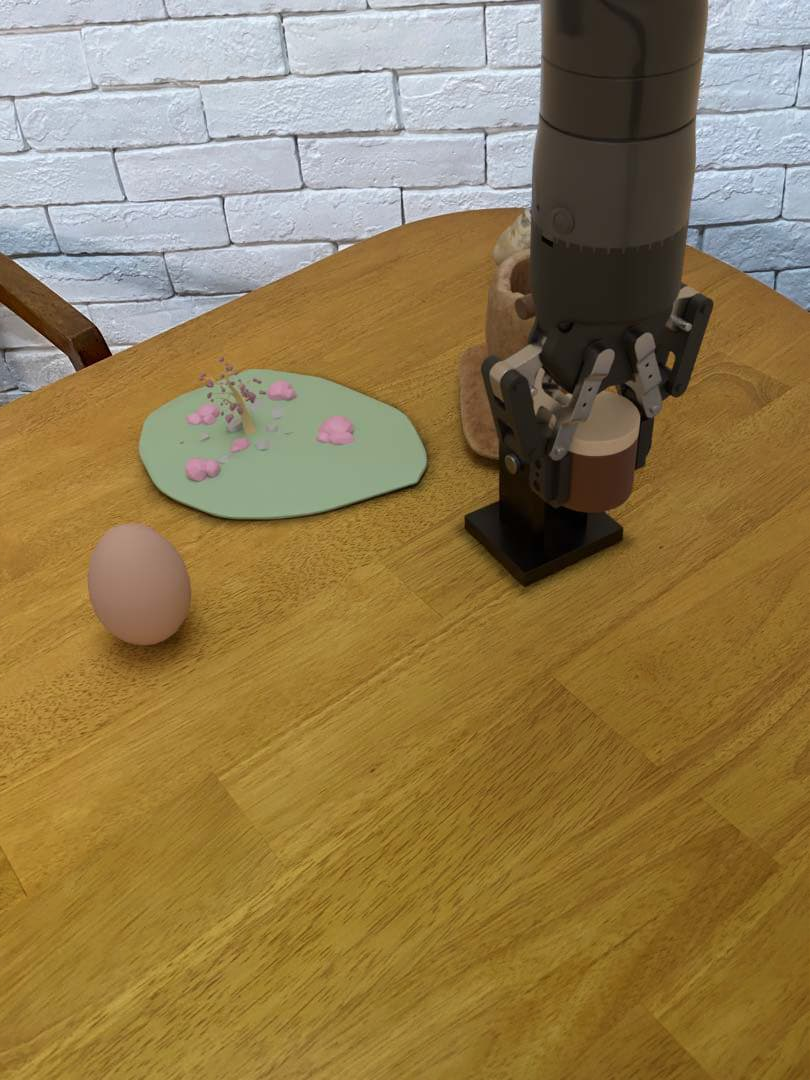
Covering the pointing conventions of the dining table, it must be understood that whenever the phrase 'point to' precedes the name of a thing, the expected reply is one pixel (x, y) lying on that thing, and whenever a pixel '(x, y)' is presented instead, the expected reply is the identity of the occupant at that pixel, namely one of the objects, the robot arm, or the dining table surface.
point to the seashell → (514, 238)
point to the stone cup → (494, 351)
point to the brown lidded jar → (603, 454)
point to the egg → (138, 584)
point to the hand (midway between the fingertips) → (589, 479)
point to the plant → (278, 446)
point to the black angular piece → (536, 526)
